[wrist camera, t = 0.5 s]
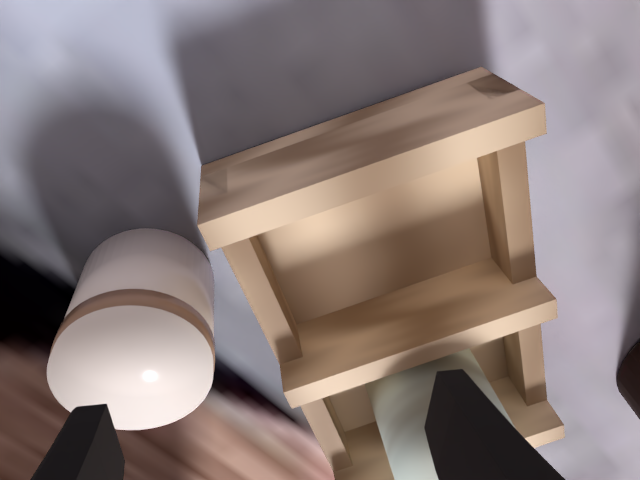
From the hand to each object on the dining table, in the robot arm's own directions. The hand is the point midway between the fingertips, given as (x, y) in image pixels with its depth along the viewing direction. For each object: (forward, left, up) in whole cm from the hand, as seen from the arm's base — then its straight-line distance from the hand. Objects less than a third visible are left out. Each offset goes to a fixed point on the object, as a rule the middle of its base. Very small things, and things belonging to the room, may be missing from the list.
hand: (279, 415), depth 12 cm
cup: (-5, -2, -11) cm, 12 cm away
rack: (+4, -6, -11) cm, 13 cm away
